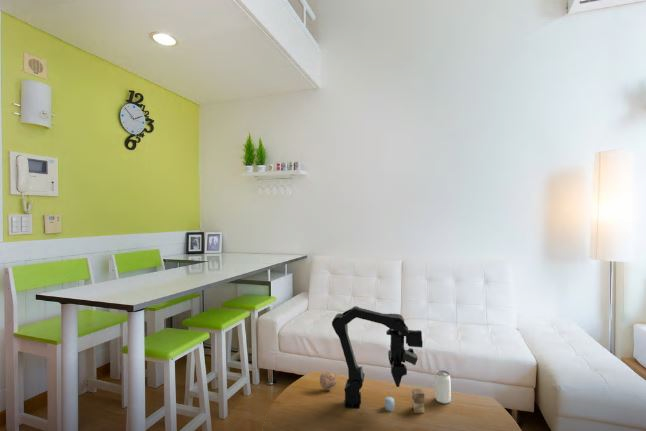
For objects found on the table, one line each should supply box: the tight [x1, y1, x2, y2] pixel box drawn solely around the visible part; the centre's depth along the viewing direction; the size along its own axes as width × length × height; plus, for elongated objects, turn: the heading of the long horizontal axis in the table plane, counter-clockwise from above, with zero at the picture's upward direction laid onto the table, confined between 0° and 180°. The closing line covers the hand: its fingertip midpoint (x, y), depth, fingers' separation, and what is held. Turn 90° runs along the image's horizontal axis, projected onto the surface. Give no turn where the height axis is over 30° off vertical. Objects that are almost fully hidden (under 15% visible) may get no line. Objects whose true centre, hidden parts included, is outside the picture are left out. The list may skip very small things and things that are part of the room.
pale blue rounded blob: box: [384, 396, 395, 412], centre depth 145 cm, size 4×4×4 cm
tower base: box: [412, 399, 425, 414], centre depth 144 cm, size 4×4×4 cm
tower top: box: [411, 388, 426, 404], centre depth 144 cm, size 4×4×4 cm
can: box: [434, 369, 452, 405], centre depth 151 cm, size 6×6×12 cm
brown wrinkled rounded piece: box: [319, 371, 337, 391], centre depth 162 cm, size 8×6×8 cm
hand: (396, 381), depth 146 cm, fingers open, 9 cm apart
